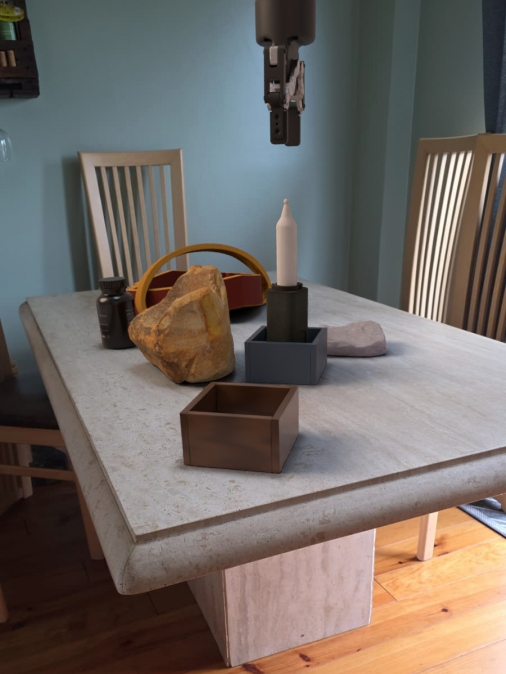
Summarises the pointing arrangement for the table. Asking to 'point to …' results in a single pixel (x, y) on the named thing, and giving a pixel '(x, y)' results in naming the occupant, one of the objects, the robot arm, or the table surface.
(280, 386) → the crate left
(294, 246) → the candle
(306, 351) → the crate right
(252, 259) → the decorative basket
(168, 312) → the rough brown rock
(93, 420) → the table surface
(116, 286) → the supplement bottle
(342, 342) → the stone block
